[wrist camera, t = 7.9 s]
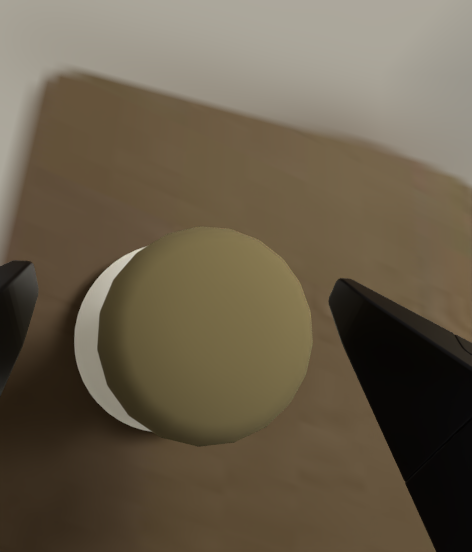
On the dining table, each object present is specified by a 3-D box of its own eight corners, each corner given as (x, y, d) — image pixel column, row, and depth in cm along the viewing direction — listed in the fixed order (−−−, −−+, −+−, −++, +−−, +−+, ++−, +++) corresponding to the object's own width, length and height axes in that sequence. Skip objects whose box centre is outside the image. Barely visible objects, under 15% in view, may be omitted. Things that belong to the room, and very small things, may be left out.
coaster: (146, 468, 16) (146, 478, 15) (40, 308, 16) (32, 306, 15) (287, 352, 19) (295, 353, 18) (198, 219, 19) (201, 212, 18)
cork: (125, 406, 15) (72, 551, 5) (111, 286, 16) (43, 193, 6) (241, 379, 17) (384, 444, 7) (223, 273, 18) (323, 182, 8)
